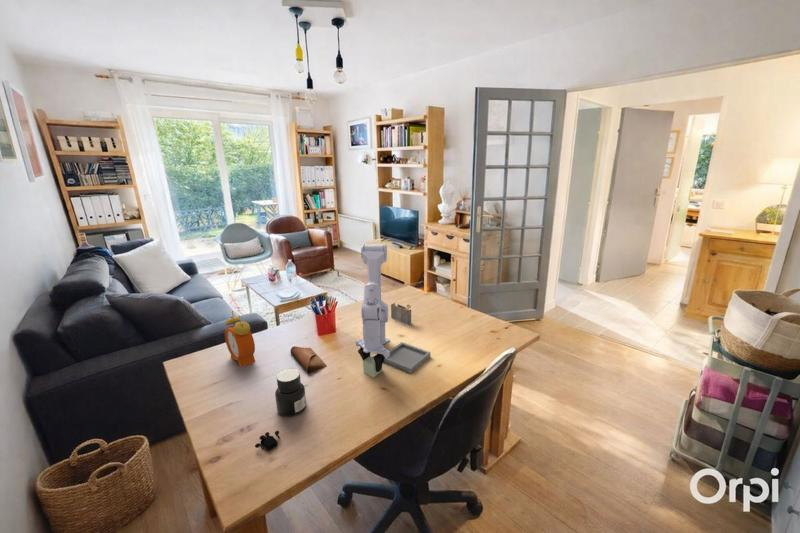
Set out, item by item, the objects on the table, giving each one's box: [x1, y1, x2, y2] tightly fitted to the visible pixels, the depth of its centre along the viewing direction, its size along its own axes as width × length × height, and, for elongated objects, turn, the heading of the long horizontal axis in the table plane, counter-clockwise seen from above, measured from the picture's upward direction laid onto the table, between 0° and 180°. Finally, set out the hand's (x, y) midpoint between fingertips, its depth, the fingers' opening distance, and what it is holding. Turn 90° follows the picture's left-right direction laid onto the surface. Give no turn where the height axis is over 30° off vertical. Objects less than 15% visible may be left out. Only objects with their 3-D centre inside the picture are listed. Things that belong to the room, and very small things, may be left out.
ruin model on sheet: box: [390, 302, 412, 326], centre depth 167 cm, size 11×3×10 cm, turn 44°
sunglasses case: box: [289, 346, 328, 374], centre depth 134 cm, size 18×7×7 cm
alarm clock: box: [224, 310, 256, 368], centre depth 132 cm, size 13×6×20 cm, turn 47°
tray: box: [383, 341, 431, 374], centre depth 135 cm, size 14×14×2 cm
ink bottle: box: [274, 368, 307, 418], centre depth 107 cm, size 10×9×12 cm
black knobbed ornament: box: [254, 430, 282, 451], centre depth 94 cm, size 7×2×5 cm
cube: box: [362, 354, 383, 378], centre depth 126 cm, size 5×5×5 cm
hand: (372, 368), depth 127 cm, fingers closed on cube, 5 cm apart
